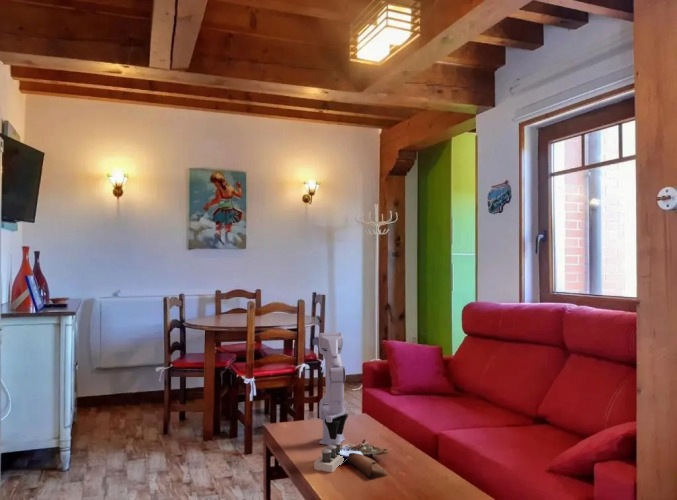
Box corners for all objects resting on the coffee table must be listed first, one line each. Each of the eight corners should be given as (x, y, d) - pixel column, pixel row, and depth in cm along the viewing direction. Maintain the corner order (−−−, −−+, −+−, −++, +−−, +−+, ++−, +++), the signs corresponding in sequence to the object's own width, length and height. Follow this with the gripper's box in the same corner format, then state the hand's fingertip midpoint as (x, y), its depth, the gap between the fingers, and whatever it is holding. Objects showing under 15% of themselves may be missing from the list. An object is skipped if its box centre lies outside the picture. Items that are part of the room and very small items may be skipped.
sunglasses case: (391, 475, 186) (383, 460, 185) (376, 489, 184) (367, 473, 182) (366, 458, 203) (358, 444, 201) (352, 470, 200) (343, 456, 199)
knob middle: (328, 454, 200) (328, 444, 200) (338, 455, 198) (338, 445, 198) (325, 457, 196) (325, 447, 196) (334, 458, 195) (334, 448, 195)
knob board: (330, 455, 206) (330, 448, 206) (348, 457, 203) (348, 451, 203) (314, 469, 192) (314, 462, 192) (332, 472, 189) (332, 465, 189)
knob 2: (333, 450, 204) (333, 440, 204) (342, 451, 202) (342, 441, 203) (329, 453, 200) (329, 443, 201) (338, 454, 199) (338, 444, 199)
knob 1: (324, 458, 196) (324, 448, 196) (333, 459, 194) (333, 449, 194) (319, 461, 192) (319, 451, 192) (329, 463, 191) (329, 453, 191)
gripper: (334, 394, 210) (333, 429, 210) (318, 403, 197) (318, 441, 196) (351, 396, 207) (351, 431, 207) (336, 405, 194) (336, 443, 194)
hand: (336, 436), depth 202 cm, fingers open, 5 cm apart
